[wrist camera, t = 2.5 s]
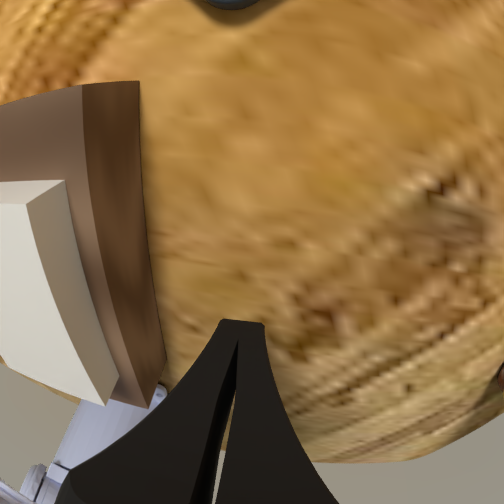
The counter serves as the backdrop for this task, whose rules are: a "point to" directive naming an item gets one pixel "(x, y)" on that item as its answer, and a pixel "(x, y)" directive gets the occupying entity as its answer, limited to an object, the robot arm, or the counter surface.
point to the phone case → (231, 4)
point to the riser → (97, 211)
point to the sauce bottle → (501, 380)
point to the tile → (48, 295)
